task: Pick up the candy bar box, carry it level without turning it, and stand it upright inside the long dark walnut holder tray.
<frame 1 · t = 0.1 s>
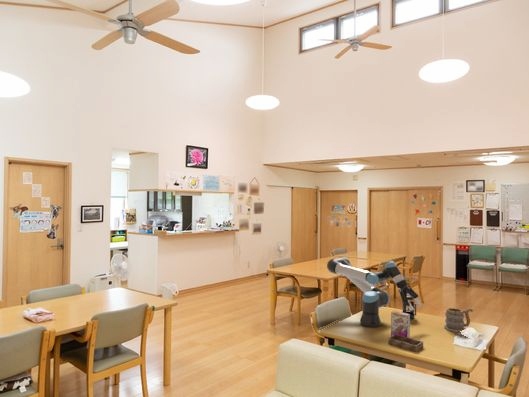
hand: (416, 308, 271), 15 cm above the table, fingers open, 13 cm apart
tankard: (459, 329, 273), on the table
french press: (408, 317, 301), on the table
holder tray: (405, 345, 241), on the table
candy bar box: (400, 337, 255), on the table
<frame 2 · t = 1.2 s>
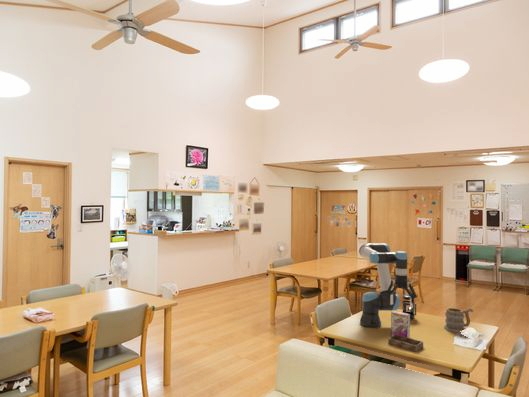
hand: (401, 306, 256), 21 cm above the table, fingers open, 13 cm apart
nothing on the table moved.
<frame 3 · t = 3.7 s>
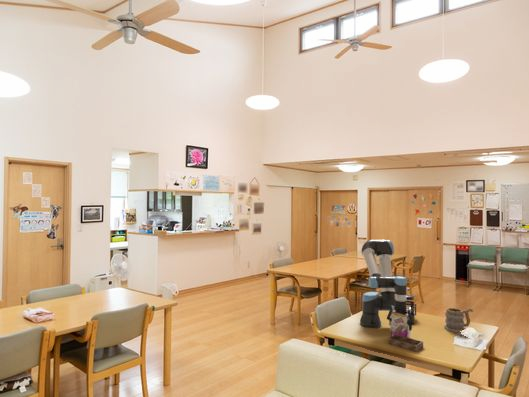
hand: (400, 332, 256), 3 cm above the table, fingers closed on candy bar box, 11 cm apart
candy bar box: (400, 337, 255), on the table, touching gripper
everything else where it was.
when the fingers open (5 cm above the table, at t = 10.7 s): candy bar box stays where it is, resting on holder tray.
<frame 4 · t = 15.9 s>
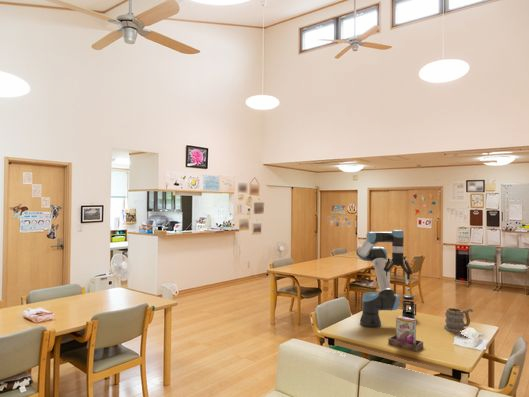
hand: (397, 282, 266), 35 cm above the table, fingers open, 13 cm apart
candy bar box: (405, 344, 241), point 1 cm above the table, touching holder tray
everything else where it was.
at the end: candy bar box 0.2 cm off-centre on the holder tray, point 0.8 cm above the holder tray's base; candy bar box tilted 0°; the gripper is holding nothing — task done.
